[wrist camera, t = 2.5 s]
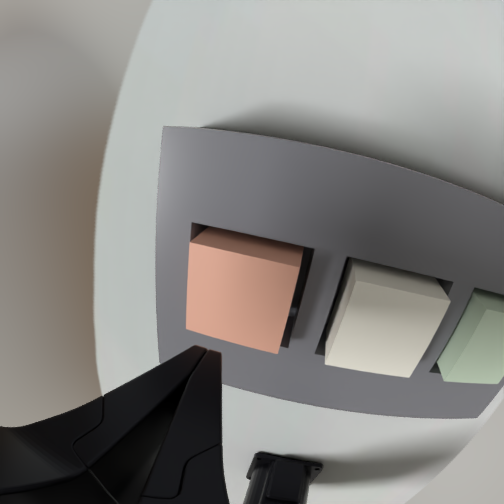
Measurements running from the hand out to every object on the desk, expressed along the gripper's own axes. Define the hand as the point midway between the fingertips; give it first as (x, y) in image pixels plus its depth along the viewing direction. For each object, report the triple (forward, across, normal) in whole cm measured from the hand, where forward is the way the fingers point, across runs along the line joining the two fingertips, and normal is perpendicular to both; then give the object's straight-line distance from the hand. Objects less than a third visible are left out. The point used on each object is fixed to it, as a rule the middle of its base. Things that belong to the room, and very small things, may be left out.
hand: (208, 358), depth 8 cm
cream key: (+6, -6, 0) cm, 8 cm away
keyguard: (+8, -6, 0) cm, 10 cm away
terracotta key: (+6, 0, 0) cm, 6 cm away
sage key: (+6, -12, 0) cm, 13 cm away
